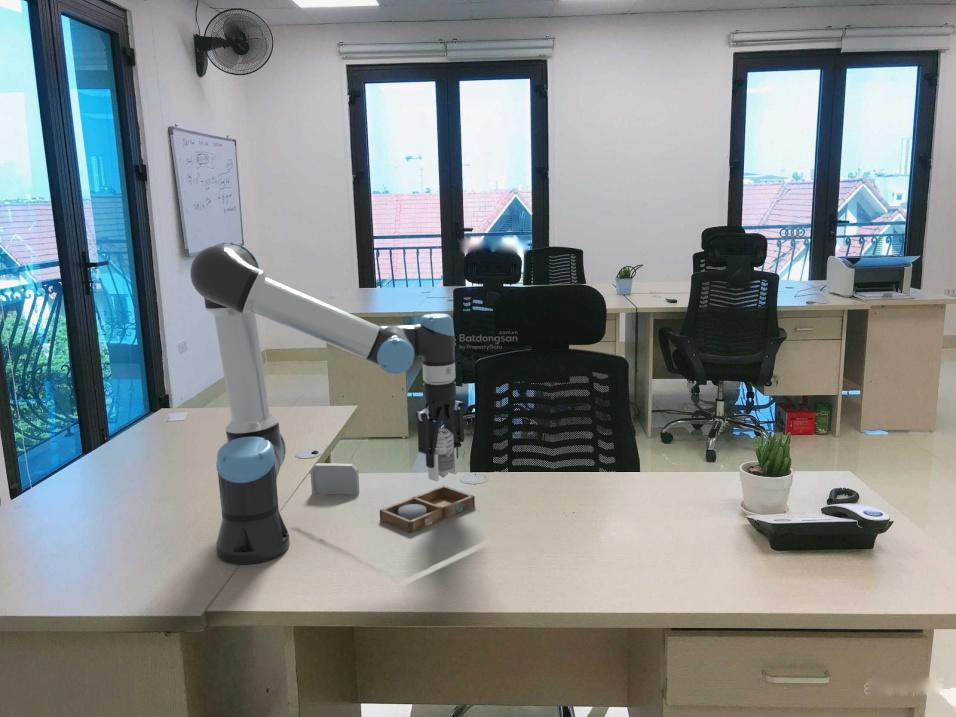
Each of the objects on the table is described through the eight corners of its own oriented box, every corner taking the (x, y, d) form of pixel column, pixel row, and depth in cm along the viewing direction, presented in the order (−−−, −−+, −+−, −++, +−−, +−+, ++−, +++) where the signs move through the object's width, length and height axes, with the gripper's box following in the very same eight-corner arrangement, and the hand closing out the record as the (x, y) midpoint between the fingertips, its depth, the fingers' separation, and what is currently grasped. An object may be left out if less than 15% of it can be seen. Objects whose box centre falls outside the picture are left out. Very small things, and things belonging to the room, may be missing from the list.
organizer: (411, 537, 170) (410, 522, 170) (380, 524, 178) (379, 509, 177) (475, 509, 185) (475, 496, 184) (444, 498, 192) (443, 485, 191)
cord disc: (411, 527, 173) (411, 517, 173) (393, 519, 178) (392, 510, 177) (432, 518, 178) (432, 508, 177) (413, 511, 182) (413, 501, 182)
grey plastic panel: (357, 495, 196) (356, 465, 194) (311, 494, 197) (309, 465, 195) (359, 492, 198) (357, 463, 196) (313, 491, 199) (312, 462, 197)
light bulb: (426, 479, 182) (424, 430, 180) (438, 471, 187) (437, 423, 184) (447, 482, 179) (445, 433, 177) (459, 474, 184) (457, 426, 182)
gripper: (420, 391, 169) (425, 491, 174) (478, 376, 182) (481, 469, 187) (398, 386, 174) (403, 483, 179) (456, 371, 187) (459, 462, 192)
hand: (443, 475), depth 183 cm, fingers closed on light bulb, 5 cm apart
